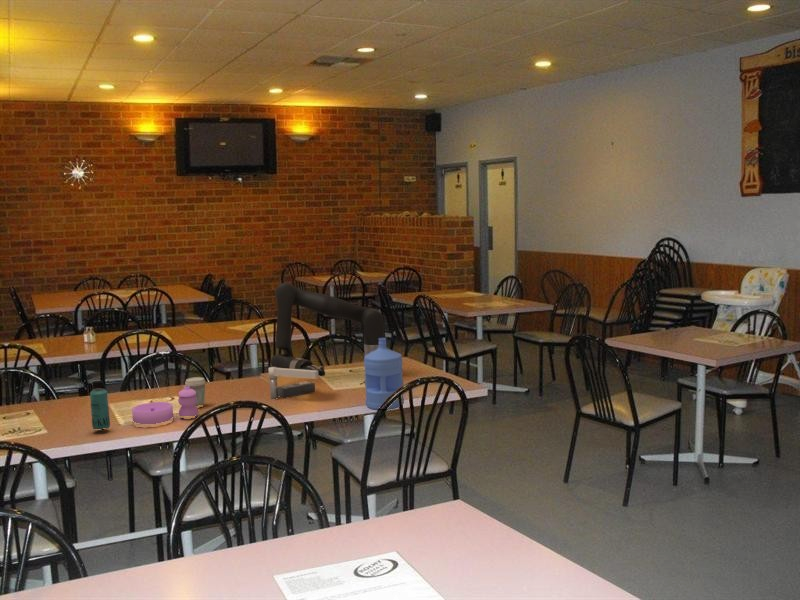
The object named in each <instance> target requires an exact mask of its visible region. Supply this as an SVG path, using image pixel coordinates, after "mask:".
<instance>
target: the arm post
mask: <svg viewBox="0 0 800 600" xmlns="http://www.w3.org/2000/svg"><path fill="white" fill-rule="evenodd" d="M269 387H270V388H269V389H270V399H271V400H272V399H275V400H277V399H276V398H278V399H279V397H278V390H277V387H278V377H277V378H275V379H270V378H269Z"/></svg>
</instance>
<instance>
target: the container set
mask: <svg viewBox="0 0 800 600" xmlns="http://www.w3.org/2000/svg"><path fill="white" fill-rule="evenodd" d="M195 394H196V392H195V390H193V389H190V386H186V385H184V386H183V389H181V390H179V392H178V400H177V401H178V404H179V405H180V408H179V410H178V415H179V417H180V416H195V415H197V416H198V415H199V408H197V407H196V406H195V405H194V404H195V403H196V402H197V397H196V396H195ZM173 409H174V407H173V404H172V403H171V402H168V401H153V402H147V403H141V404H137V405H135V406H133V407H132V408H131V412H132V422H133V421H134V422H136V423H140V424H156V423H161V422H165V421H168V420H170V419H171V418H172V417H173V418H174V410H173Z"/></svg>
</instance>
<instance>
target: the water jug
mask: <svg viewBox="0 0 800 600" xmlns="http://www.w3.org/2000/svg"><path fill="white" fill-rule="evenodd" d="M378 340H379V348H378V349H377V350H375V351H373V352H371V353H369V354H367V355H365V354H364V359H363V367H364V386H365V405H366V407H367V408H369V409H372V410H377V411H379V410H378V409H379V407H380V406H381V405H382V404H383V403H384V402H385V401H386V399H387V398H388V397H390V396H391V395H392V394H393V393H394V392H396V391H397V390H398V389H399V388H400V387H402V386H403V387H404V379H403V356H402V354H401V353H399V352H397V351H394V350H393V349H390V348H388V347H387V338H386V337H384V338H379V339H378ZM401 399H402V404H403V405H404V404H405V400H404V399H405V398H404V393H403V394H402V397H401ZM399 408H401V407H400V406H399V400H398V399H397V400H396V401H395V402H393V403H392V405H391V406H390V407H389V408H388V409H387V410H388V411H389V410H395V409H399ZM387 410H386V411H387Z"/></svg>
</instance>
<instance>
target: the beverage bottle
mask: <svg viewBox="0 0 800 600" xmlns="http://www.w3.org/2000/svg"><path fill="white" fill-rule="evenodd" d="M91 386H92V388H94V389H93V390H91V391H90V393H89V397H90V398H89V399H90V409H91V410H90V412H91V413H90V414H91V426H92V429H103V428H108V427H110V426H111V420H110V408H109V399H108V391H107V390H106V389H105V388H102V387H104V386H105V384H104V380H101V379H100V380H99V379H98V380H94V381H92V384H91ZM108 429H109V428H108Z"/></svg>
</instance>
